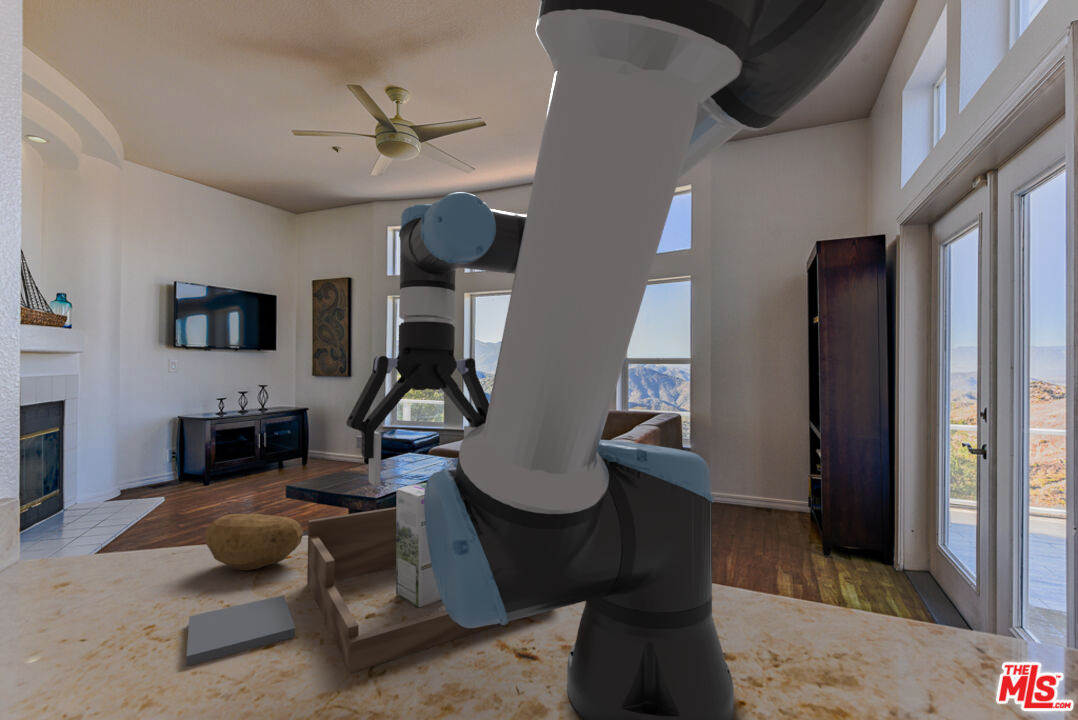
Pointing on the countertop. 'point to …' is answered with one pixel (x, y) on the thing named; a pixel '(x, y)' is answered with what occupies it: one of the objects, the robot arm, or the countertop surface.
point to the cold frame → (357, 551)
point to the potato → (252, 539)
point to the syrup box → (413, 549)
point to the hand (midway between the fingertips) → (424, 477)
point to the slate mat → (238, 629)
